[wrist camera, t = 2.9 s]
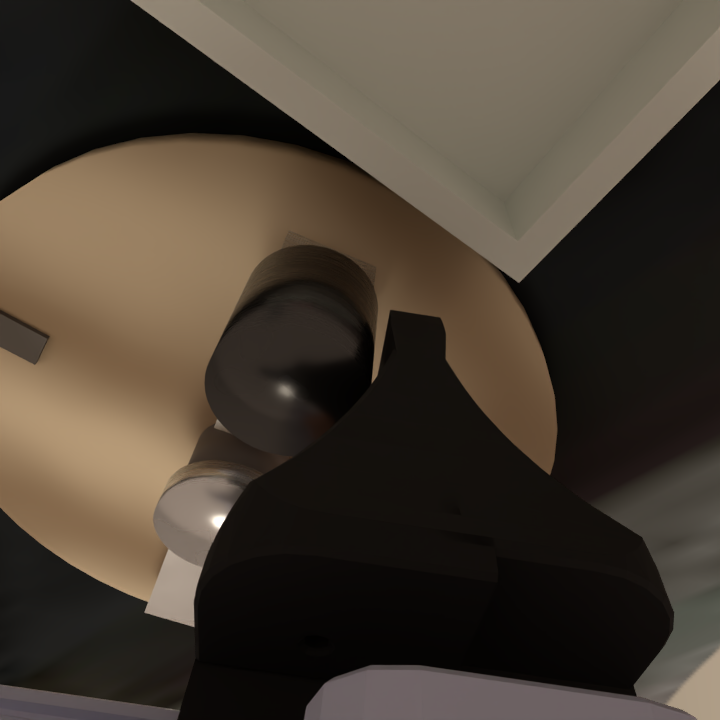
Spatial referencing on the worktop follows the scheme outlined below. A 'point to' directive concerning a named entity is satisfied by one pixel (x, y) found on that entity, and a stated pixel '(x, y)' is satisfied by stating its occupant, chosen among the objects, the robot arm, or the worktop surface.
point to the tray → (473, 96)
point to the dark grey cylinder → (269, 393)
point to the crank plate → (202, 324)
